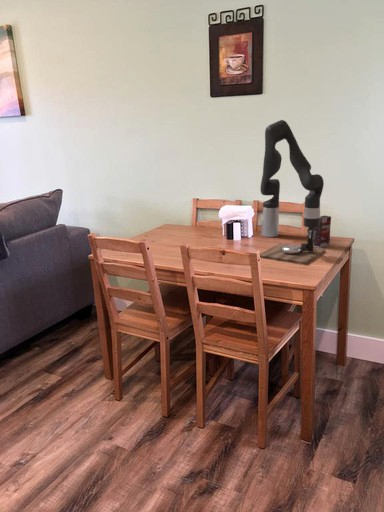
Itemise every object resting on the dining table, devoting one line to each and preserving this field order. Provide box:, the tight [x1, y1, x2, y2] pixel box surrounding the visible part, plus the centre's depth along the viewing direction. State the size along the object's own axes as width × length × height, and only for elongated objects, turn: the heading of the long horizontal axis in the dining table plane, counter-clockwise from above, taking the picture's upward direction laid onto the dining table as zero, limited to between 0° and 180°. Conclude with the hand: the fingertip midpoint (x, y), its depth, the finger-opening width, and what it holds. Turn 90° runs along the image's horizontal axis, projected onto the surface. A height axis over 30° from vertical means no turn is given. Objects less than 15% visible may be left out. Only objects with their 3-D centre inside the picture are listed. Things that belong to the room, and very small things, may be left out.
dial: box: [282, 242, 315, 254], centre depth 214 cm, size 16×10×4 cm, turn 88°
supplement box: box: [314, 214, 332, 249], centre depth 225 cm, size 9×5×16 cm, turn 128°
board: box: [259, 243, 326, 266], centre depth 215 cm, size 25×25×2 cm
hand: (310, 250), depth 211 cm, fingers closed
